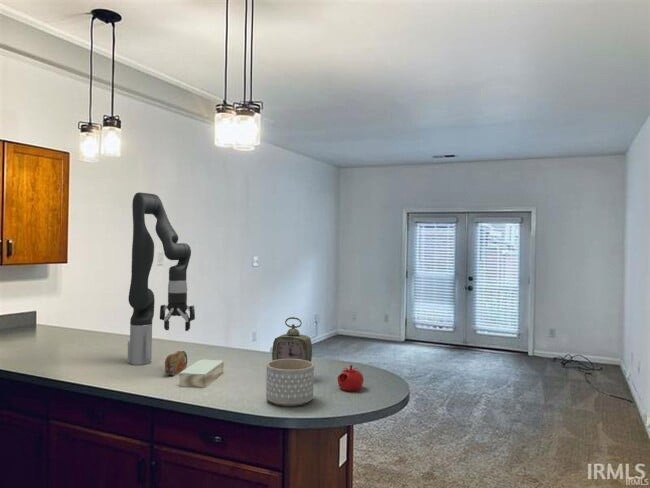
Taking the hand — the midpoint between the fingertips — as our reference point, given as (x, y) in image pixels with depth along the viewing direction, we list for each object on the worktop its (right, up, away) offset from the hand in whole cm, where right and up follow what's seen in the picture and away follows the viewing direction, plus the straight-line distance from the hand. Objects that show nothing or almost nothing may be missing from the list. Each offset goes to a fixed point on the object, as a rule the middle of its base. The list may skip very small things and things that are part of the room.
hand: (177, 330), depth 210 cm
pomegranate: (+71, -20, -18) cm, 76 cm away
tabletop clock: (+48, -19, -6) cm, 52 cm away
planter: (+49, -19, -33) cm, 62 cm away
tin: (0, -18, 0) cm, 18 cm away
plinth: (+13, -18, -9) cm, 23 cm away
